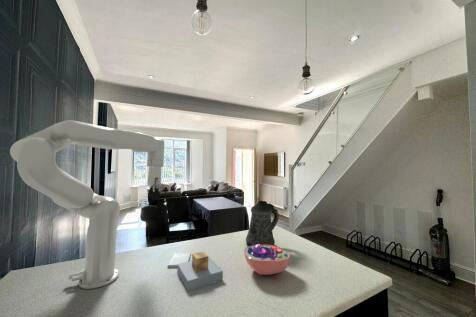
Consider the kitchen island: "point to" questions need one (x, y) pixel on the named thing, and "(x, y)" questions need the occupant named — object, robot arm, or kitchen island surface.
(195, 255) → the amber block
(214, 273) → the slate base
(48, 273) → the kitchen island surface
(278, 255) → the cell model
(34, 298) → the kitchen island surface
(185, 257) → the hard drive
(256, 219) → the beer stein
